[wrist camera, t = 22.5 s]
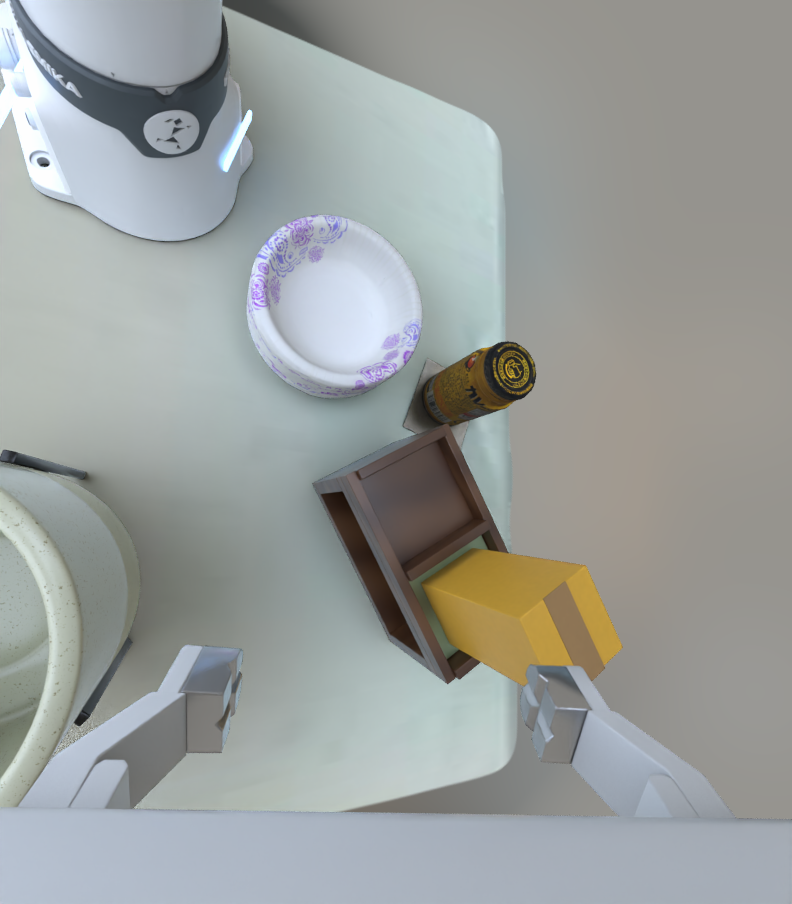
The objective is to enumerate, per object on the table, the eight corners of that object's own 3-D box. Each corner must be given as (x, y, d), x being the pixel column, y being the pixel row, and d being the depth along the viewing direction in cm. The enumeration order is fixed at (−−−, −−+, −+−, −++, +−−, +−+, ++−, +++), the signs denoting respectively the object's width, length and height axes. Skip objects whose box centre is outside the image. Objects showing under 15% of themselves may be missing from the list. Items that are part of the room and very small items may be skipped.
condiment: (479, 387, 51) (553, 354, 40) (457, 454, 49) (530, 438, 38) (426, 358, 48) (489, 314, 37) (401, 426, 46) (461, 401, 35)
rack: (312, 483, 42) (347, 475, 31) (393, 442, 46) (451, 421, 35) (390, 641, 43) (451, 687, 32) (463, 588, 47) (540, 613, 36)
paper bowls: (366, 429, 45) (396, 414, 37) (217, 365, 40) (218, 334, 32) (410, 304, 48) (445, 268, 41) (278, 232, 43) (291, 176, 36)
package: (419, 582, 34) (519, 618, 23) (472, 546, 36) (587, 564, 25) (449, 644, 34) (562, 710, 23) (500, 606, 37) (625, 648, 26)
